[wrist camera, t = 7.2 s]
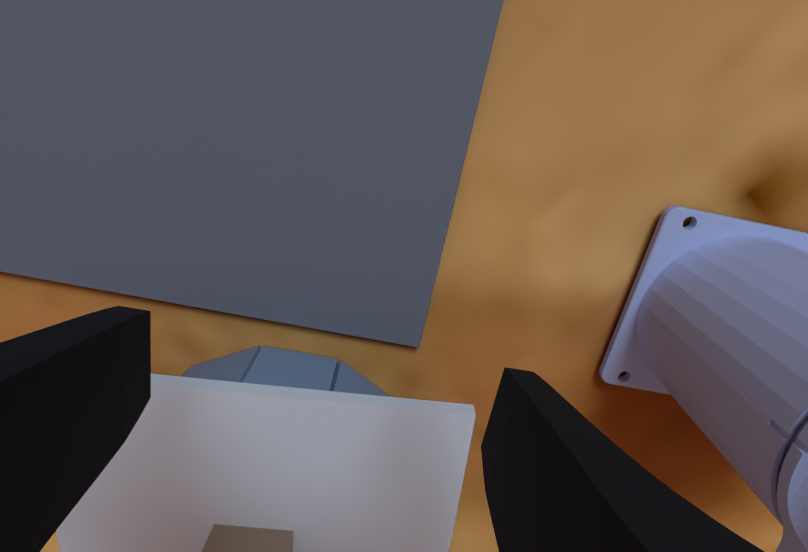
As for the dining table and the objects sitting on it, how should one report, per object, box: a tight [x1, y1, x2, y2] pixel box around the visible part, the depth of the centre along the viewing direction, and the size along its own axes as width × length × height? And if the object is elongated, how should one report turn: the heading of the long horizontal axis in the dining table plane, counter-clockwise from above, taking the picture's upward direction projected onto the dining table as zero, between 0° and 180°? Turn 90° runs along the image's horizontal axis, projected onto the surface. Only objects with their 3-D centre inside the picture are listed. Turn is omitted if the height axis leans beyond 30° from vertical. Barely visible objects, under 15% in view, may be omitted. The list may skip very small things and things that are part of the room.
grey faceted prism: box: [182, 346, 390, 397], centre depth 22 cm, size 13×13×4 cm
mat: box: [0, 0, 503, 348], centre depth 17 cm, size 18×18×1 cm
